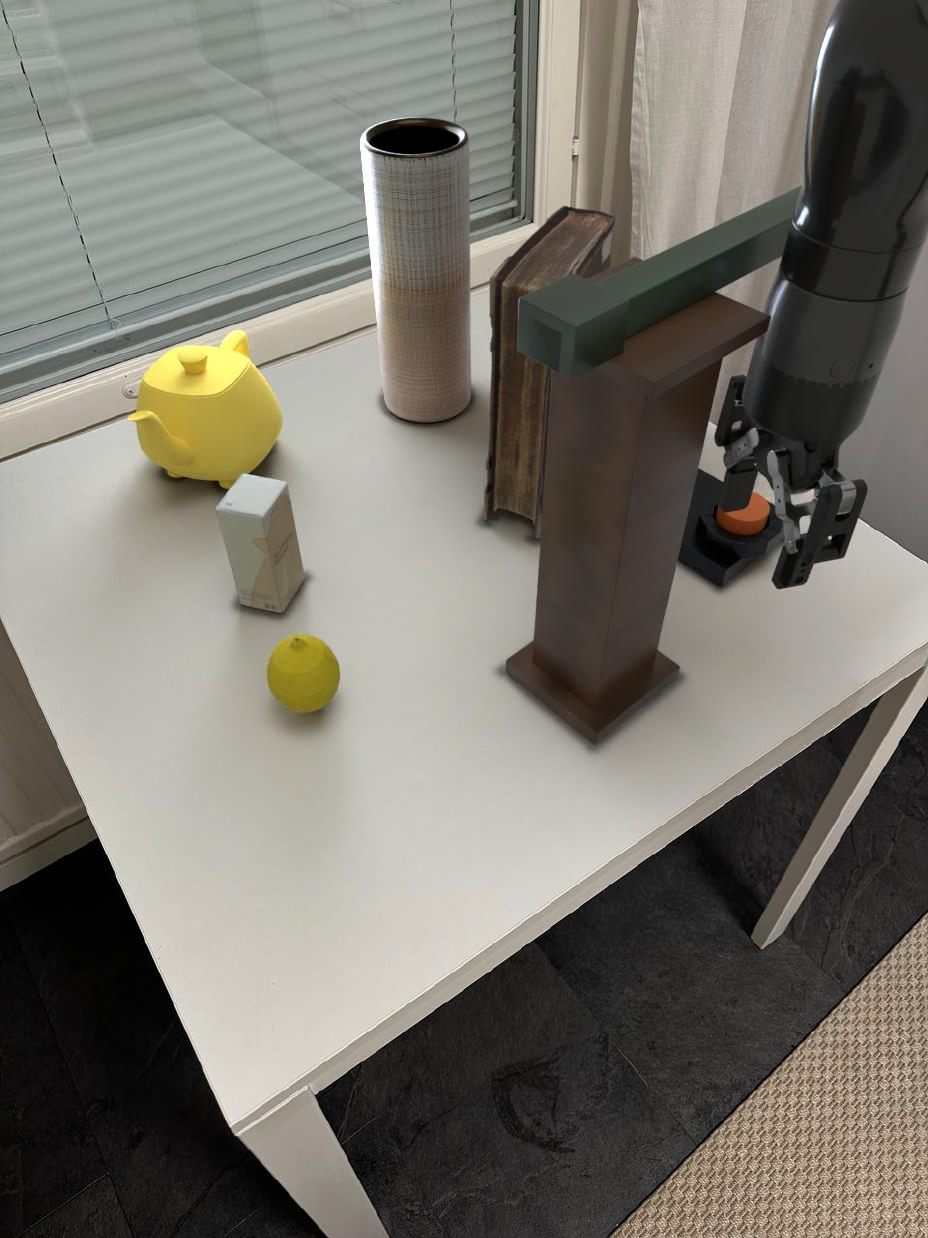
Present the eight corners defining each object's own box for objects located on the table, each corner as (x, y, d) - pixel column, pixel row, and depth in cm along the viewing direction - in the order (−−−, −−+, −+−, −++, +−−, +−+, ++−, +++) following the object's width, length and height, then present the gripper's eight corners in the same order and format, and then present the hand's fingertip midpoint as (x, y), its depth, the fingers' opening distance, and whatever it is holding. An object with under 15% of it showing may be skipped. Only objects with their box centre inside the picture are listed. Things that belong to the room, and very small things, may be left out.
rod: (835, 238, 56) (849, 189, 54) (571, 381, 45) (575, 327, 43) (781, 218, 58) (793, 170, 56) (516, 350, 47) (518, 297, 45)
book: (552, 431, 97) (570, 195, 78) (612, 451, 94) (645, 211, 76) (475, 520, 87) (474, 273, 68) (540, 544, 84) (557, 295, 66)
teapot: (106, 509, 89) (64, 402, 80) (207, 400, 101) (180, 297, 92) (226, 536, 86) (196, 428, 77) (314, 420, 98) (297, 316, 89)
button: (775, 520, 81) (779, 505, 80) (745, 542, 79) (750, 527, 78) (735, 497, 83) (739, 482, 82) (705, 518, 81) (709, 503, 80)
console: (796, 544, 84) (807, 511, 81) (731, 595, 80) (741, 562, 77) (685, 479, 91) (692, 447, 88) (620, 523, 86) (625, 490, 83)
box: (282, 615, 78) (260, 519, 70) (238, 605, 79) (211, 509, 71) (307, 575, 82) (288, 479, 74) (264, 566, 83) (241, 470, 75)
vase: (489, 395, 101) (491, 132, 81) (429, 435, 96) (416, 164, 76) (425, 365, 106) (412, 108, 86) (366, 401, 101) (337, 137, 81)
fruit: (261, 708, 72) (242, 642, 66) (312, 667, 74) (297, 600, 68) (309, 745, 69) (293, 680, 63) (359, 701, 72) (348, 635, 66)
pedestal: (677, 677, 73) (771, 315, 50) (594, 745, 69) (654, 382, 45) (588, 612, 78) (634, 256, 55) (505, 671, 74) (518, 311, 50)
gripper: (948, 400, 49) (856, 603, 61) (817, 281, 59) (759, 477, 71) (825, 420, 48) (755, 623, 60) (712, 296, 57) (671, 493, 69)
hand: (758, 544), depth 65 cm, fingers open, 8 cm apart
